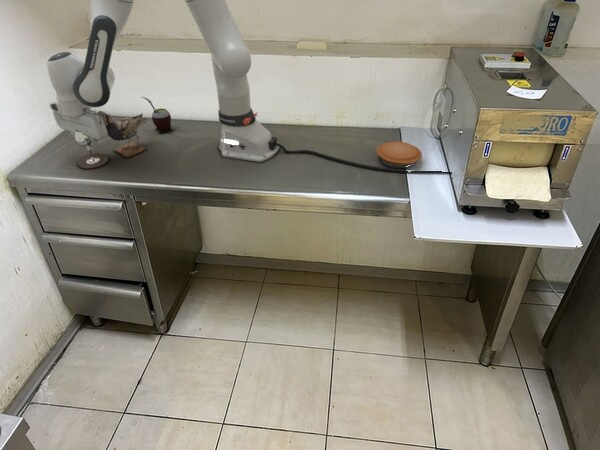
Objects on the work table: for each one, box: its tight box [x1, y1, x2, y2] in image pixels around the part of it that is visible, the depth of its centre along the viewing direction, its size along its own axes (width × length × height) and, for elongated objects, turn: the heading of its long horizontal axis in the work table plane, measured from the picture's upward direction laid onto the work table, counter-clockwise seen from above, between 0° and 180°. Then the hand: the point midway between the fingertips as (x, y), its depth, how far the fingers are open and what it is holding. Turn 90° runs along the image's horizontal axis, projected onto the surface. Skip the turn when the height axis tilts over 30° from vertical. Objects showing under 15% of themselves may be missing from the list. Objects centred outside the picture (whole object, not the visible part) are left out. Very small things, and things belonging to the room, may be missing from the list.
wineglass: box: [75, 131, 100, 164], centre depth 149 cm, size 6×6×12 cm
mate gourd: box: [141, 96, 172, 135], centre depth 169 cm, size 8×8×15 cm
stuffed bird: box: [96, 110, 148, 158], centre depth 154 cm, size 10×20×17 cm, turn 161°
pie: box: [376, 141, 423, 170], centre depth 153 cm, size 15×16×5 cm
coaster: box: [77, 153, 109, 170], centre depth 153 cm, size 10×10×1 cm
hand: (87, 144), depth 149 cm, fingers closed on wineglass, 6 cm apart
